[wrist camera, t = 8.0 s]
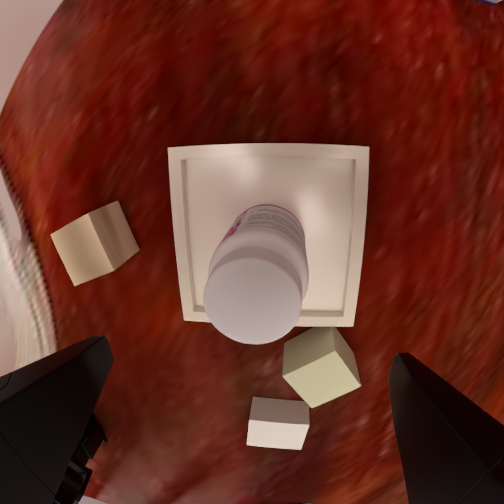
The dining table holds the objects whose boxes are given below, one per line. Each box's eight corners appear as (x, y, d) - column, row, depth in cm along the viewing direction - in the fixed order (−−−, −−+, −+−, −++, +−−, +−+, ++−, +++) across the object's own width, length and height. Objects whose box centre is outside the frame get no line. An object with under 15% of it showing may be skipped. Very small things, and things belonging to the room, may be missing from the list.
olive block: (310, 373, 24) (311, 408, 21) (284, 342, 24) (282, 376, 20) (353, 352, 23) (360, 386, 20) (329, 317, 22) (335, 350, 19)
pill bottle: (234, 197, 20) (196, 237, 12) (310, 209, 19) (325, 258, 11) (226, 267, 21) (191, 340, 13) (297, 278, 21) (299, 359, 13)
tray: (189, 310, 23) (184, 320, 22) (175, 146, 19) (167, 147, 18) (350, 316, 22) (353, 326, 21) (363, 146, 18) (369, 146, 17)
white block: (250, 421, 28) (246, 444, 25) (253, 395, 26) (249, 419, 23) (301, 426, 27) (301, 449, 24) (308, 400, 26) (309, 424, 23)
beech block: (102, 264, 23) (74, 286, 20) (81, 219, 22) (50, 234, 18) (140, 249, 22) (114, 270, 19) (118, 200, 21) (87, 213, 17)
